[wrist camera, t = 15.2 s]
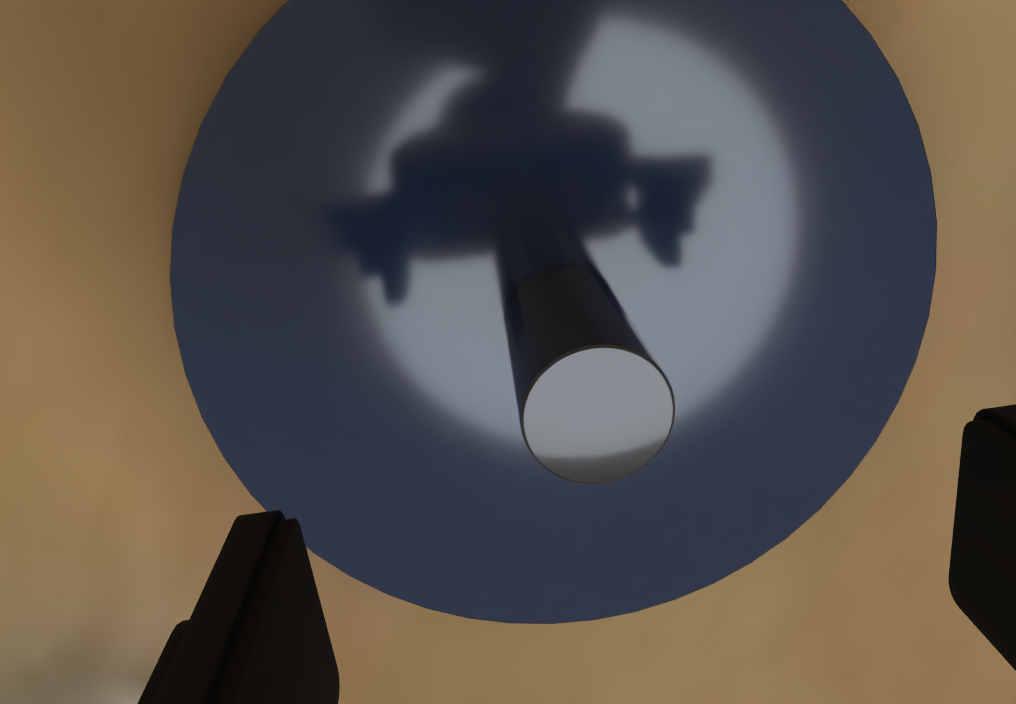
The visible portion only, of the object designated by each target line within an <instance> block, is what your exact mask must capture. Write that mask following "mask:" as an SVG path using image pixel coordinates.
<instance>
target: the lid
mask: <svg viewBox="0 0 1016 704" xmlns="http://www.w3.org/2000/svg"><path fill="white" fill-rule="evenodd" d="M936 239H937V219H936V211H935V202H934V194H933V185H932V177H931V171H930V168H929V164H928V160H927V156H926V152H925V149H924V145H923V141H922V137H921V134H920V130H919V126H918V124H917V121H916V119H915V117H914V114H913V112H912V110H911V107H910V105H909V103H908V100H907V98H906V96H905V93H904V91H903V89H902V86H901V84H900V82H899V79H898V77H897V76H896V74H895V72H894V71H893V69H892V68H891V66H890V64H889V63H888V61H887V60H886V58H885V56H884V55H883V53H882V51H881V50H880V48H879V47H878V45H877V43H876V42H875V40H874V39H873V37H872V35H871V34H870V33H869V31H868V30H867V29H866V28H865V27H864V26H863V24H862V23H861V22H860V21H859V20H858V19H857V17H856V16H855V15H854V14H853V13H852V12H851V10H850V9H849V8H848V7H847V6H846V4H845V3H844V2H843V1H842V0H288V1H287V2H286V3H285V4H284V6H283V7H282V8H281V9H280V10H279V11H278V12H277V13H276V14H275V15H274V16H273V17H272V18H271V19H270V20H269V21H268V22H267V23H266V24H265V25H264V26H263V27H262V28H261V29H260V30H259V32H258V33H257V34H256V36H255V37H254V38H253V40H252V41H251V43H250V44H249V45H248V47H247V48H246V49H245V51H244V52H243V54H242V55H241V56H240V58H239V59H238V60H237V62H236V63H235V65H234V66H233V67H232V69H231V70H230V71H229V73H228V74H227V76H226V77H225V79H224V81H223V83H222V85H221V87H220V89H219V91H218V93H217V95H216V96H215V98H214V100H213V102H212V104H211V106H210V108H209V110H208V112H207V114H206V115H205V117H204V119H203V121H202V123H201V125H200V128H199V131H198V134H197V136H196V139H195V142H194V145H193V148H192V151H191V153H190V156H189V159H188V162H187V165H186V168H185V170H184V173H183V176H182V181H181V187H180V192H179V197H178V202H177V207H176V212H175V217H174V222H173V227H172V246H171V266H170V285H171V296H172V307H173V318H174V328H175V332H176V336H177V341H178V345H179V349H180V353H181V358H182V362H183V366H184V371H185V374H186V377H187V380H188V382H189V385H190V388H191V390H192V393H193V395H194V398H195V401H196V403H197V406H198V408H199V411H200V414H201V416H202V418H203V420H204V422H205V424H206V426H207V428H208V429H209V431H210V433H211V435H212V437H213V439H214V440H215V442H216V444H217V446H218V448H219V450H220V451H221V453H222V455H223V457H224V458H225V460H226V461H227V463H228V464H229V465H230V467H231V468H232V469H233V471H234V472H235V473H236V475H237V476H238V478H239V479H240V480H241V482H242V483H243V484H244V486H245V487H246V489H247V490H248V491H249V493H250V494H251V495H252V496H253V497H254V498H255V499H256V500H257V501H258V502H259V503H260V505H261V506H262V507H263V508H264V509H265V510H266V511H267V512H268V511H275V510H280V511H281V512H282V513H283V514H284V516H285V519H293V518H296V519H297V520H298V522H299V524H300V527H301V531H302V534H303V538H304V542H305V546H306V547H307V548H308V549H309V550H311V551H312V552H313V553H314V554H316V555H318V556H319V557H321V558H322V559H324V560H325V561H327V562H329V563H330V564H332V565H333V566H335V567H336V568H338V569H339V570H341V571H343V572H344V573H346V574H347V575H349V576H351V577H353V578H355V579H357V580H359V581H361V582H363V583H365V584H367V585H369V586H371V587H373V588H375V589H377V590H379V591H381V592H384V593H386V594H388V595H390V596H393V597H396V598H399V599H402V600H404V601H407V602H410V603H413V604H416V605H419V606H421V607H424V608H427V609H431V610H435V611H440V612H444V613H448V614H453V615H457V616H461V617H466V618H471V619H479V620H487V621H496V622H504V623H528V624H556V623H567V622H578V621H589V620H597V619H602V618H607V617H612V616H617V615H622V614H627V613H632V612H636V611H640V610H643V609H646V608H649V607H653V606H656V605H659V604H662V603H666V602H669V601H672V600H675V599H678V598H680V597H683V596H685V595H687V594H690V593H692V592H694V591H697V590H699V589H701V588H704V587H706V586H709V585H711V584H713V583H715V582H717V581H719V580H721V579H723V578H724V577H726V576H728V575H730V574H732V573H733V572H735V571H737V570H739V569H741V568H742V567H744V566H746V565H748V564H750V563H752V562H753V561H754V560H756V559H757V558H759V557H760V556H762V555H763V554H764V553H766V552H767V551H769V550H770V549H772V548H773V547H775V546H776V545H777V544H779V543H780V542H782V541H783V540H785V539H786V538H787V537H789V536H790V535H791V534H792V533H793V532H794V531H795V530H797V529H798V528H799V527H800V526H801V525H802V524H803V523H805V522H806V521H807V520H808V519H809V518H810V517H812V516H813V515H814V514H815V513H816V512H817V511H818V510H820V509H821V507H822V506H823V505H824V504H825V503H826V502H827V501H828V500H829V499H830V498H831V497H832V496H833V494H834V493H835V492H836V491H837V490H838V489H839V488H840V487H841V486H842V485H843V484H844V483H845V482H846V480H847V479H848V478H849V477H850V476H851V475H852V473H853V472H854V470H855V469H856V468H857V466H858V465H859V464H860V462H861V461H862V460H863V458H864V457H865V456H866V454H867V453H868V451H869V450H870V449H871V447H872V446H873V445H874V443H875V442H876V440H877V439H878V437H879V435H880V433H881V432H882V430H883V428H884V426H885V425H886V423H887V421H888V419H889V418H890V416H891V414H892V412H893V411H894V409H895V407H896V406H897V404H898V402H899V400H900V397H901V395H902V392H903V390H904V388H905V385H906V383H907V381H908V378H909V376H910V374H911V371H912V369H913V367H914V364H915V362H916V359H917V356H918V352H919V349H920V345H921V342H922V338H923V335H924V331H925V328H926V324H927V321H928V317H929V312H930V305H931V298H932V292H933V285H934V279H935V272H936Z"/></svg>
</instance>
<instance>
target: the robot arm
mask: <svg viewBox="0 0 1016 704" xmlns="http://www.w3.org/2000/svg"><path fill="white" fill-rule="evenodd" d="M949 587H950V591H951V594H952V597H953V599H954V601H955V603H956V604H957V605H958V607H959V608H960V609H961V610H962V611H963V612H964V614H965V615H966V616H967V617H968V618H969V619H970V620H971V621H972V622H973V624H974V625H975V626H976V627H977V628H978V629H979V630H980V631H981V633H982V634H983V635H984V636H985V637H986V638H987V639H988V640H989V641H990V643H991V644H992V645H993V646H994V647H995V648H996V649H997V650H998V651H999V653H1000V654H1001V655H1002V656H1003V657H1004V658H1005V659H1006V660H1007V662H1008V663H1009V664H1010V665H1011V666H1012V667H1013V668H1014V669H1015V670H1016V405H1009V406H1002V407H995V408H988V409H982V410H980V411H979V412H977V414H976V415H975V417H974V419H973V421H970V422H969V423H967V424H966V426H965V427H964V431H963V437H962V447H961V457H960V468H959V478H958V488H957V498H956V508H955V518H954V528H953V538H952V548H951V558H950V568H949ZM339 687H340V686H339V673H338V668H337V664H336V660H335V656H334V652H333V649H332V645H331V641H330V637H329V633H328V630H327V626H326V622H325V618H324V614H323V611H322V607H321V603H320V599H319V595H318V591H317V588H316V584H315V580H314V576H313V572H312V569H311V565H310V561H309V557H308V553H307V550H306V546H305V542H304V538H303V534H302V531H301V527H300V524H299V522H298V520H297V519H296V518H293V519H285V516H284V514H283V513H282V512H281V511H280V510H275V511H268V512H261V513H254V514H247V515H240V516H237V518H236V519H235V521H234V523H233V525H232V528H231V530H230V532H229V534H228V536H227V538H226V541H225V543H224V545H223V547H222V549H221V552H220V554H219V556H218V558H217V560H216V563H215V565H214V567H213V569H212V571H211V574H210V576H209V578H208V580H207V582H206V584H205V587H204V589H203V591H202V593H201V595H200V598H199V600H198V602H197V604H196V606H195V609H194V611H193V613H192V615H191V617H190V620H185V621H182V622H180V623H179V624H177V625H176V627H175V628H174V630H173V631H172V633H171V635H170V637H169V639H168V641H167V643H166V645H165V647H164V649H163V652H162V654H161V656H160V658H159V660H158V662H157V664H156V666H155V668H154V670H153V673H152V675H151V677H150V679H149V681H148V683H147V685H146V687H145V689H144V691H143V694H142V696H141V698H140V700H139V702H138V704H338V700H339Z"/></svg>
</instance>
